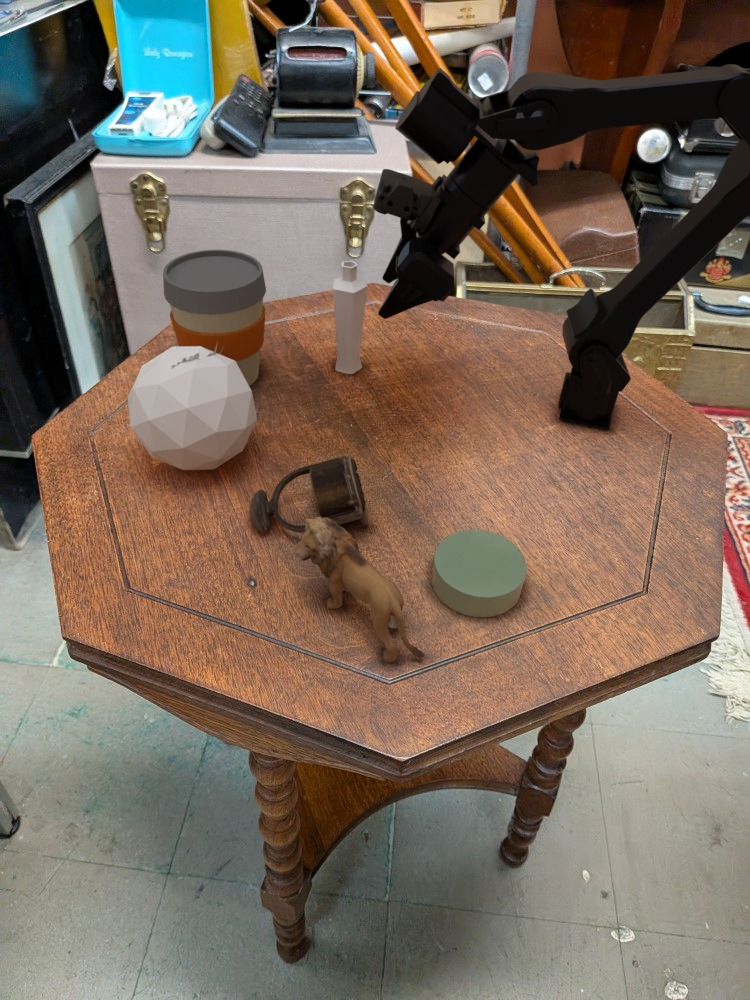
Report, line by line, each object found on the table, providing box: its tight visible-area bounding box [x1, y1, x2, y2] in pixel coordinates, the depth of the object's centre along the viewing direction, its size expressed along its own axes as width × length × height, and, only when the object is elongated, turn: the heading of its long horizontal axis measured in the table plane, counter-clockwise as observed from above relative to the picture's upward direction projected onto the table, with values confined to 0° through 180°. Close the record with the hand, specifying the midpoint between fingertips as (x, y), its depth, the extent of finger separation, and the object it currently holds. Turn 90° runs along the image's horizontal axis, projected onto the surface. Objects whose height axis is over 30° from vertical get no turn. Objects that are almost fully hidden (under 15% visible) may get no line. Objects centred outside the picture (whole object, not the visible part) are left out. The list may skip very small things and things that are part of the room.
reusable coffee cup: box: [162, 249, 267, 387], centre depth 94 cm, size 13×13×15 cm
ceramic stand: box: [430, 529, 528, 618], centre depth 71 cm, size 9×9×3 cm
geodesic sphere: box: [127, 343, 258, 471], centre depth 81 cm, size 15×14×14 cm
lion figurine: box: [292, 516, 426, 663], centre depth 66 cm, size 15×5×9 cm, turn 50°
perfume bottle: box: [332, 260, 368, 375], centre depth 97 cm, size 5×4×15 cm
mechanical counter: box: [249, 455, 369, 534], centre depth 76 cm, size 7×13×10 cm
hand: (383, 297), depth 86 cm, fingers open, 9 cm apart
